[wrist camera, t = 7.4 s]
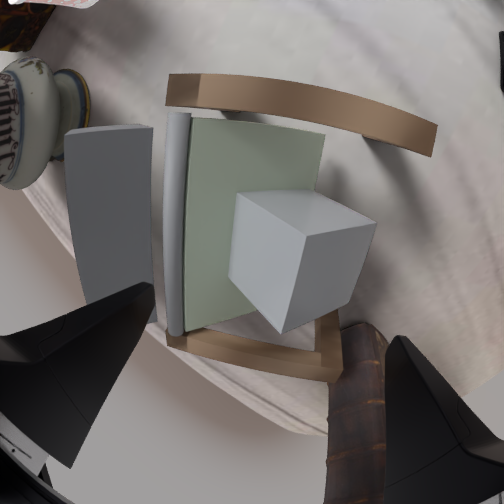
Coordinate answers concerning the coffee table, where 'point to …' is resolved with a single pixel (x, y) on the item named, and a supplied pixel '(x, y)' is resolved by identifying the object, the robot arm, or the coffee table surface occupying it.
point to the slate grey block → (296, 253)
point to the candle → (21, 24)
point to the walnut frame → (308, 109)
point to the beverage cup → (60, 2)
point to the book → (357, 420)
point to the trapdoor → (176, 206)
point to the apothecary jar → (37, 118)
